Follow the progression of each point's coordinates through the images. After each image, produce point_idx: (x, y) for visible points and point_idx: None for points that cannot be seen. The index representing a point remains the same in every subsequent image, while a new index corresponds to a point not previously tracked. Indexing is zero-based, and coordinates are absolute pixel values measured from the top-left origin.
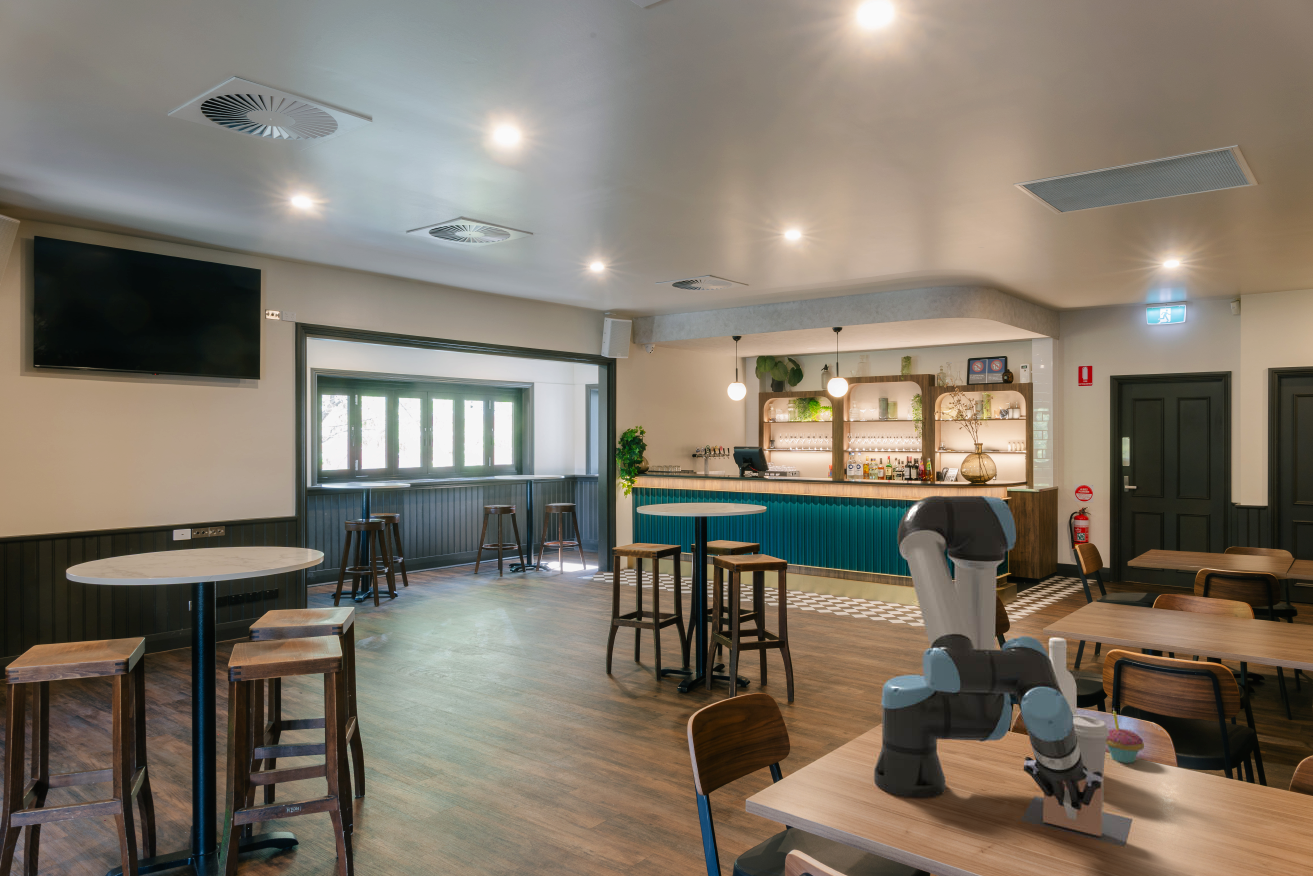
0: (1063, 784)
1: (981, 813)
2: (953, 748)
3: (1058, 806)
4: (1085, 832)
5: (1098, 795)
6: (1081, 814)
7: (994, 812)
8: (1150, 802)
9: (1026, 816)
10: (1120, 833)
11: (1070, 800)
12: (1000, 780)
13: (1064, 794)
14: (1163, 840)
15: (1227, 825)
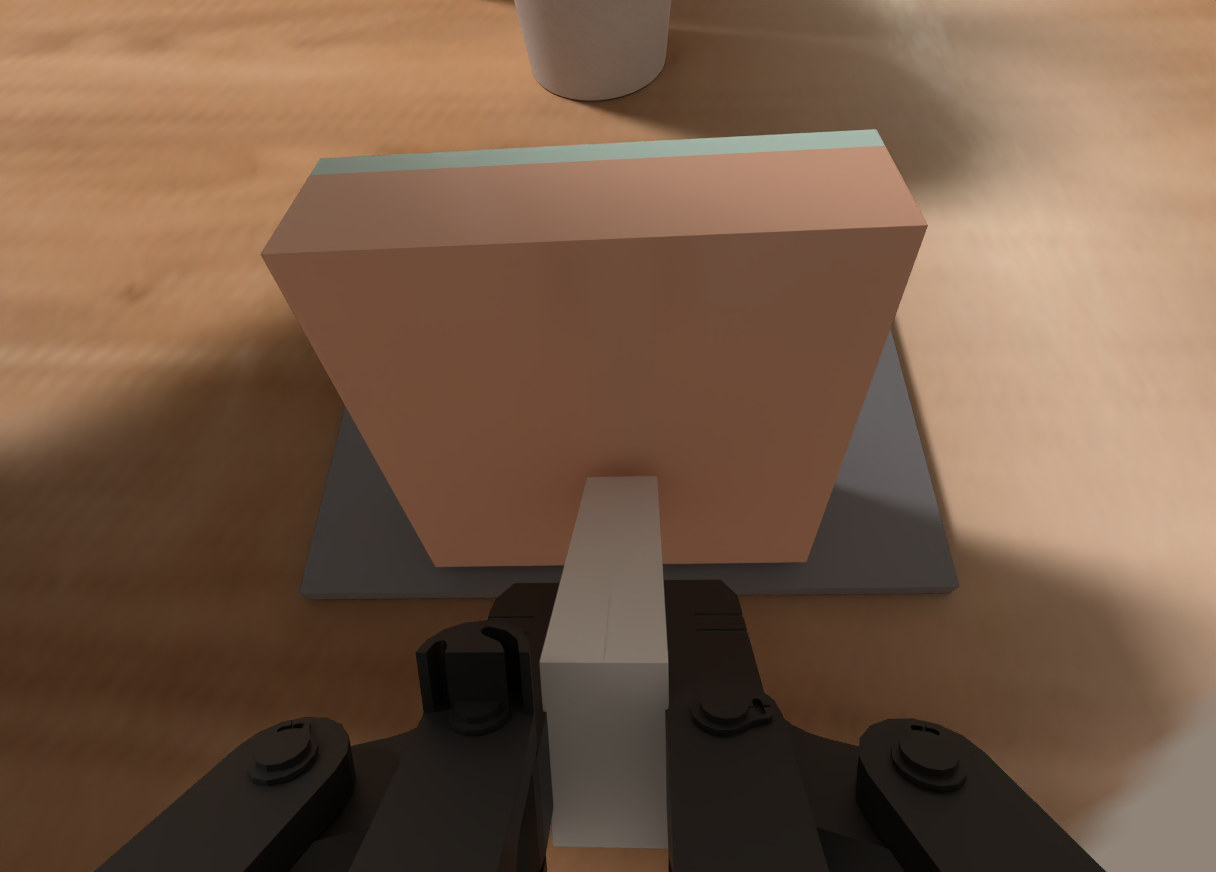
0: (503, 865)
1: (64, 610)
2: (69, 16)
3: (508, 490)
4: (708, 562)
5: (850, 362)
6: (684, 500)
7: (155, 541)
8: (854, 34)
9: (338, 515)
10: (871, 411)
11: (643, 806)
12: (238, 163)
13: (549, 743)
14: (1054, 332)
15: (1173, 54)
